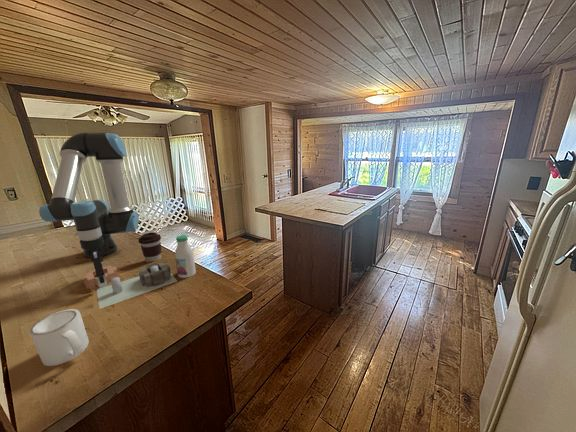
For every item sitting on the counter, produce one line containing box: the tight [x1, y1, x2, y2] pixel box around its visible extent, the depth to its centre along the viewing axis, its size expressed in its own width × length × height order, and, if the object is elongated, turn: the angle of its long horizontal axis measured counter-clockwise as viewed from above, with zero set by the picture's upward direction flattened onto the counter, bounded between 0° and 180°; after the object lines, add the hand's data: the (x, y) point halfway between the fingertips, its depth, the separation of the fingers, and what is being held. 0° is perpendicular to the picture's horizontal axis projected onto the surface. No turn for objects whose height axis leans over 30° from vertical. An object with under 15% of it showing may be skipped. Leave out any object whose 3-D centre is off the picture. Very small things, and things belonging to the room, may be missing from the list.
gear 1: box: [82, 264, 119, 291], centre depth 102 cm, size 11×11×5 cm
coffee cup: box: [137, 231, 162, 263], centre depth 119 cm, size 10×10×15 cm
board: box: [95, 266, 178, 310], centre depth 97 cm, size 16×27×8 cm, turn 132°
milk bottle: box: [174, 234, 197, 279], centre depth 104 cm, size 8×8×20 cm
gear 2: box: [138, 261, 172, 287], centre depth 101 cm, size 11×11×5 cm
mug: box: [29, 308, 90, 367], centre depth 66 cm, size 14×10×11 cm
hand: (102, 282), depth 102 cm, fingers open, 13 cm apart
